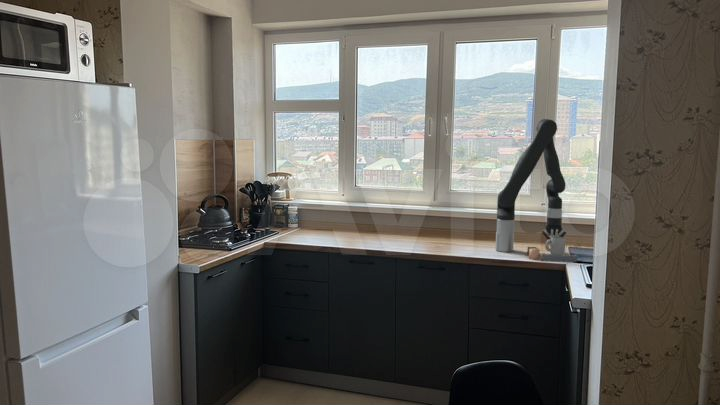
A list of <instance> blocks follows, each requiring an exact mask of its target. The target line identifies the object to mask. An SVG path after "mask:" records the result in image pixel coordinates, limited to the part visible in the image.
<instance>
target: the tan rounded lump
mask: <svg viewBox="0 0 720 405" xmlns="http://www.w3.org/2000/svg"><path fill="white" fill-rule="evenodd" d="M537 248H538V247H536V248H530V249H529V255H528V259H529V260H531V259H532V261H538V259H539V260H540V252H541V251H540V248H538V249H537Z"/></svg>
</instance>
